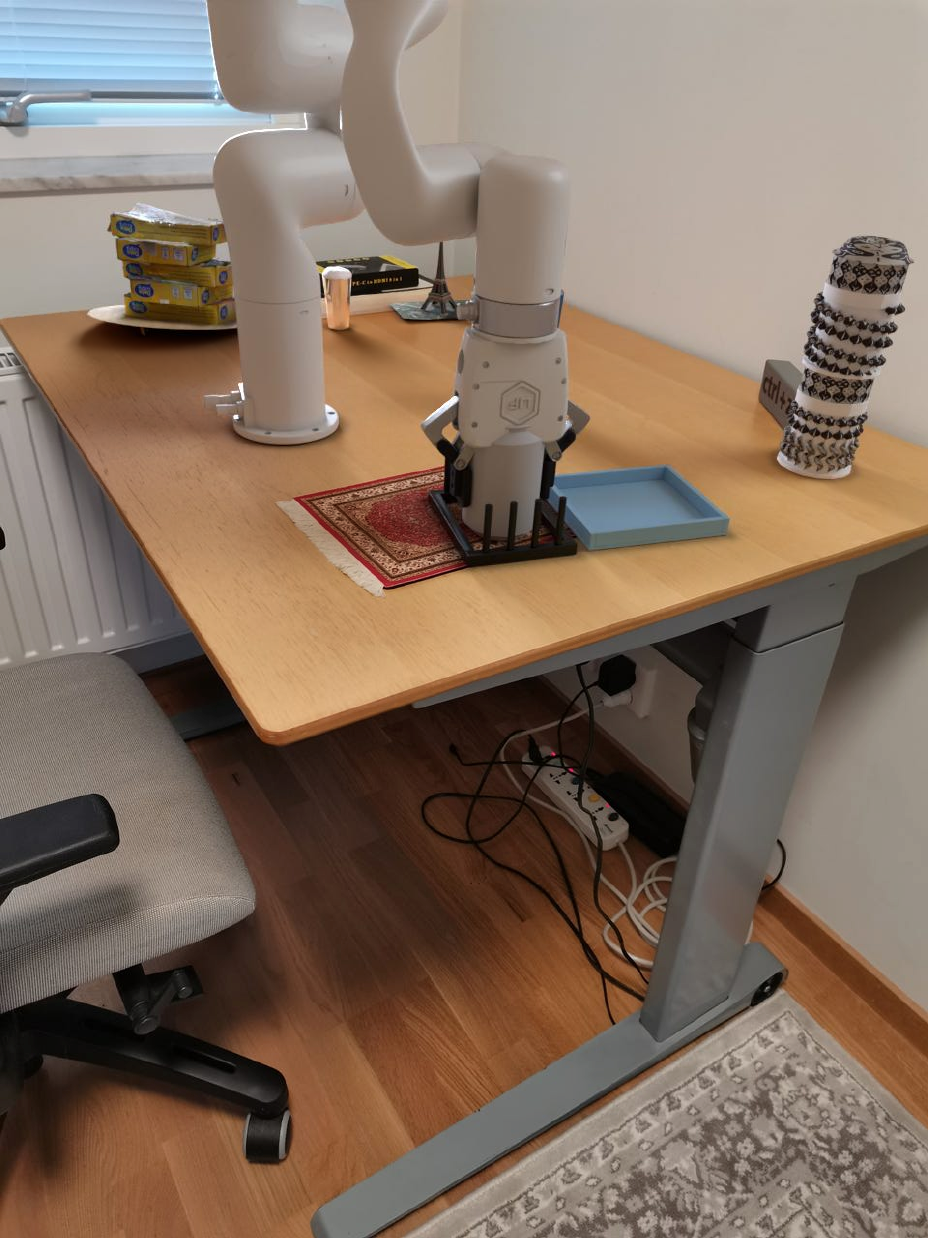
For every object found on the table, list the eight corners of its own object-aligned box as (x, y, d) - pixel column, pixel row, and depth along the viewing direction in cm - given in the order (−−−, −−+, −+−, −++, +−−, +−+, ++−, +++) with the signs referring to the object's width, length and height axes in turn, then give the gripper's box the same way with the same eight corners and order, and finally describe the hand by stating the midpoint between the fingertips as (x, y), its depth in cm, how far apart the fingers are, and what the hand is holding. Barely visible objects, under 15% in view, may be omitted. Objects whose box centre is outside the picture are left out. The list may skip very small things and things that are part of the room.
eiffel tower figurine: (472, 302, 160) (476, 221, 152) (490, 319, 152) (495, 234, 144) (389, 305, 156) (389, 222, 148) (403, 322, 148) (404, 235, 140)
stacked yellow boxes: (153, 298, 152) (138, 190, 143) (287, 318, 147) (279, 206, 137) (56, 339, 133) (31, 216, 123) (205, 363, 127) (190, 236, 118)
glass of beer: (356, 332, 142) (354, 265, 137) (322, 330, 142) (319, 263, 137) (359, 323, 146) (358, 258, 140) (326, 322, 146) (323, 256, 140)
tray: (588, 551, 87) (591, 533, 86) (539, 491, 98) (541, 475, 97) (726, 534, 91) (730, 518, 90) (665, 479, 102) (668, 464, 101)
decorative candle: (829, 447, 112) (892, 231, 98) (869, 479, 104) (943, 250, 90) (760, 448, 110) (814, 230, 96) (796, 481, 103) (860, 249, 89)
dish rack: (467, 567, 84) (470, 509, 80) (427, 500, 95) (429, 447, 91) (576, 554, 87) (584, 498, 83) (526, 491, 98) (531, 439, 94)
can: (549, 523, 92) (562, 410, 85) (512, 552, 86) (523, 434, 80) (486, 502, 95) (494, 391, 88) (447, 529, 90) (452, 414, 83)
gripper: (430, 331, 74) (425, 524, 84) (624, 323, 78) (598, 506, 88) (408, 306, 80) (406, 489, 89) (589, 300, 84) (568, 474, 94)
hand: (501, 496), depth 89 cm, fingers closed on can, 7 cm apart
